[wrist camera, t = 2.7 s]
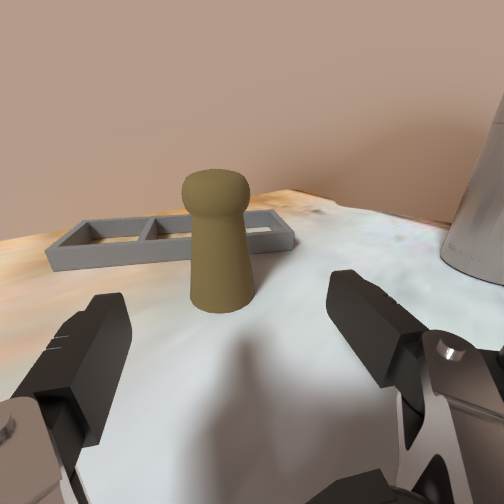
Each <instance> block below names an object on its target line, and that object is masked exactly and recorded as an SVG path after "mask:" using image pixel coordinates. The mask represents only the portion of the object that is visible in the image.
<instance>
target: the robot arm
mask: <svg viewBox="0 0 504 504" xmlns="http://www.w3.org/2000/svg"><path fill="white" fill-rule="evenodd" d="M440 255H441V257H442V259H443V260H444V261H445V262H446V263H448V264H449V265H451V266H452V267H454V268H456V269H458V270H460V271H462V272H464V273H466V274H469V275H471V276H474V277H476V278H479V279H483V280H486V281H489V282H493V283H497V284H501V285H504V94H503V96H502V99H501V101H500V104H499V106H498V109H497V111H496V114H495V116H494V119H493V121H492V125H491V127H490V130H489V132H488V134H487V137H486V139H485V142H484V144H483V147H482V150H481V152H480V154H479V157H478V160H477V162H476V165H475V167H474V170H473V172H472V175H471V177H470V180H469V182H468V185H467V187H466V190H465V192H464V195H463V197H462V200H461V202H460V205H459V207H458V210H457V212H456V215H455V217H454V220H453V222H452V225H451V227H450V230H449V233H448V235H447V238H446V240H445V243H444V245H443V248H442V250H441V253H440ZM326 309H327V313H328V315H329V317H330V319H331V320H332V321H333V323H334V324H335V325H336V327H337V328H338V330H339V331H340V332H341V334H342V335H343V337H344V338H345V339H346V341H347V342H348V344H349V345H350V346H351V348H352V349H353V351H354V352H355V353H356V355H357V356H358V358H359V359H360V360H361V362H362V363H363V364H364V366H365V367H366V369H367V370H368V371H369V373H370V374H371V376H372V377H373V378H374V380H375V381H376V383H377V384H378V385H379V387H380V388H385V387H389V386H394V385H395V387H396V388H397V389H398V390H399V391H398V394H397V398H396V401H397V419H398V437H399V467H398V471H397V477H396V486H392V485H388V483H387V481H386V479H385V478H384V476H383V474H382V472H381V470H380V469H376V470H372V471H369V472H365V473H361V474H358V475H354V476H350V477H347V478H343V479H339V480H336V481H335V482H333V483H332V484H331V485H329V486H328V487H327V488H325V489H324V490H323V491H321V492H320V493H319V494H317V495H316V496H315V497H314V498H312V499H311V500H310V501H308V502H307V503H306V504H504V346H503V347H502V349H501V350H500V351H492V350H483V349H476V348H475V347H474V346H473V345H472V344H471V343H469V342H468V341H466V340H465V339H463V338H461V337H459V336H457V335H455V334H452V333H449V332H446V331H442V330H429V329H428V328H427V327H426V326H425V325H423V324H422V323H421V322H420V321H419V320H418V319H416V318H415V317H414V316H413V315H412V314H410V313H409V312H408V311H407V310H406V309H404V308H403V307H402V306H401V305H400V304H397V302H396V301H395V300H394V299H393V298H391V297H389V296H388V294H387V293H386V292H384V291H383V290H382V289H381V288H380V287H378V286H376V285H375V284H373V283H371V282H369V281H367V280H364V279H363V278H362V277H361V276H360V275H359V274H357V273H356V272H355V271H354V270H351V269H350V270H340V271H333V272H332V274H331V276H330V282H329V287H328V293H327V299H326ZM131 341H132V327H131V323H130V319H129V316H128V312H127V308H126V305H125V301H124V298H123V295H122V294H121V293H109V294H99V295H95V296H94V297H93V299H92V300H91V302H90V303H89V305H88V306H87V308H86V309H85V311H79V312H77V313H76V314H74V315H73V316H72V317H71V318H69V319H68V320H67V321H66V322H64V323H63V325H62V326H61V327H60V329H59V330H58V332H57V333H56V334H55V336H54V339H52V340H51V341H50V343H49V344H48V346H47V347H46V351H43V353H42V354H41V355H40V357H39V358H38V360H37V361H36V363H35V364H34V365H33V367H32V368H31V370H30V371H29V372H28V374H27V375H26V377H25V378H24V379H23V381H22V382H21V384H20V385H19V386H18V388H17V389H16V391H15V392H14V393H13V395H12V396H11V398H10V399H8V400H5V401H3V402H0V504H91V502H90V499H89V496H88V494H87V491H86V489H85V486H84V484H83V481H82V479H81V476H80V473H79V471H78V468H77V467H76V463H77V460H78V457H79V455H80V452H81V449H82V448H85V447H90V446H95V445H99V442H100V439H101V436H102V433H103V430H104V427H105V424H106V420H107V417H108V414H109V411H110V408H111V405H112V402H113V398H114V395H115V392H116V389H117V386H118V383H119V380H120V377H121V373H122V370H123V367H124V364H125V361H126V358H127V355H128V351H129V348H130V345H131Z"/></svg>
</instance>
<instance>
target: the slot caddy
mask: <svg viewBox="0 0 504 504" xmlns="http://www.w3.org/2000/svg"><path fill="white" fill-rule="evenodd" d="M243 217H244V223H245V228H255V227H270V229H271V230H272V231H266V232H252V233H246V237H247V244H248V250H249V254H255V253H266V252H277V251H288V250H293V242H294V231H293V230H292V229H291V228H290V227H289V226H288V225H287V224H286V223H285V222H284V220H283V219H282V218H281V217H280V216H279V215H278V214H277V213H276V212H275V211H274V210H256V211H245V212H244V213H243ZM183 232H192V215H191V214H186V215H169V216H151V217H134V218H117V219H100V220H84V221H82V222H80V223H79V224H78V225H77V226H75V227H74V228H73V229H71V230H70V231H69V232H68V233H66V234H65V235H64V236H63V237H61V238H60V239H59V240H57V241H56V242H55V243H54V244H52V245H51V246H50V247H49V248H47V249H46V250H45V253H46V256H47V258H48V260H49V263H50V265H51V267H52V270H53V271H65V270H76V269H87V268H98V267H109V266H121V265H132V264H143V263H154V262H165V261H176V260H188V259H191V244H192V237H184V238H171V239H157V236H158V234H169V233H183ZM126 236H139V238H138V240H137V241H130V242H116V243H103V244H89V245H87V244H88V243H89V242H90V241H91V240H92V239H97V238H112V237H126ZM156 239H157V240H156Z"/></svg>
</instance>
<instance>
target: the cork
mask: <svg viewBox="0 0 504 504" xmlns="http://www.w3.org/2000/svg"><path fill="white" fill-rule="evenodd" d="M182 200H183V203H184V206H185V208H186V210H187V211H188V212H189V213H190V214H191V215H192V244H191V287H190V299H191V301H192V303H193V305H195V306H196V307H197V308H199V309H200V310H203V311H206V312H209V313H219V314H220V313H228V312H233V311H236V310H239V309H241V308H243V307H244V306H246V305H247V304H249V303H250V301H251V300H252V299H253V297H254V292H255V291H254V284H253V277H252V271H251V264H250V257H249V250H248V244H247V237H246V230H245V223H244V217H243V213H244V212H245V210H246V209H247V207H248V204H249V200H250V188H249V184H248V182H247V180H246V179H245V177H244V176H243V175H241V174H240V173H237V172H234V171H229V170H223V169H209V170H203V171H199V172H195V173H192V174H190V175H189V176H187V177H186V179H185V181H184V183H183V186H182Z"/></svg>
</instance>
